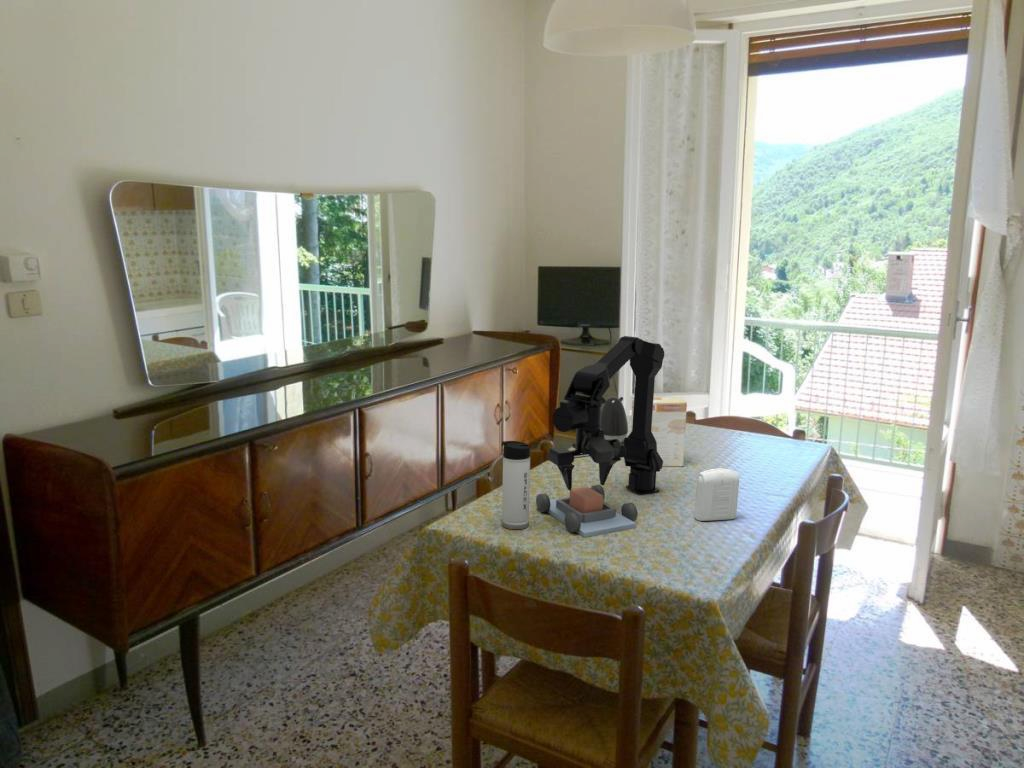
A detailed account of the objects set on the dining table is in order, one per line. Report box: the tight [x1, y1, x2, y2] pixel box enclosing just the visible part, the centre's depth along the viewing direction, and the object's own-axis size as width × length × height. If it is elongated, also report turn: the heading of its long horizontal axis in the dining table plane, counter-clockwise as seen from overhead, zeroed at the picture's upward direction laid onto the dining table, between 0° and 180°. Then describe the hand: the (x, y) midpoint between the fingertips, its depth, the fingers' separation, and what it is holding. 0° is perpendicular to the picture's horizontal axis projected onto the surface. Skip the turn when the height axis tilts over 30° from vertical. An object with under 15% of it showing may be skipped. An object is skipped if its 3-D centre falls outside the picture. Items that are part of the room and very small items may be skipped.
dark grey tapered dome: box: [600, 396, 629, 444], centre depth 246 cm, size 10×10×15 cm
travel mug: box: [501, 440, 531, 530], centre depth 175 cm, size 6×7×20 cm
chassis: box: [535, 484, 639, 538], centre depth 182 cm, size 17×22×4 cm
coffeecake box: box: [630, 397, 688, 467], centre depth 224 cm, size 15×7×20 cm, turn 92°
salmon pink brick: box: [569, 486, 604, 514], centre depth 182 cm, size 5×7×5 cm
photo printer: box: [694, 467, 740, 522], centre depth 182 cm, size 10×4×12 cm, turn 103°
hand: (585, 487), depth 181 cm, fingers open, 9 cm apart
